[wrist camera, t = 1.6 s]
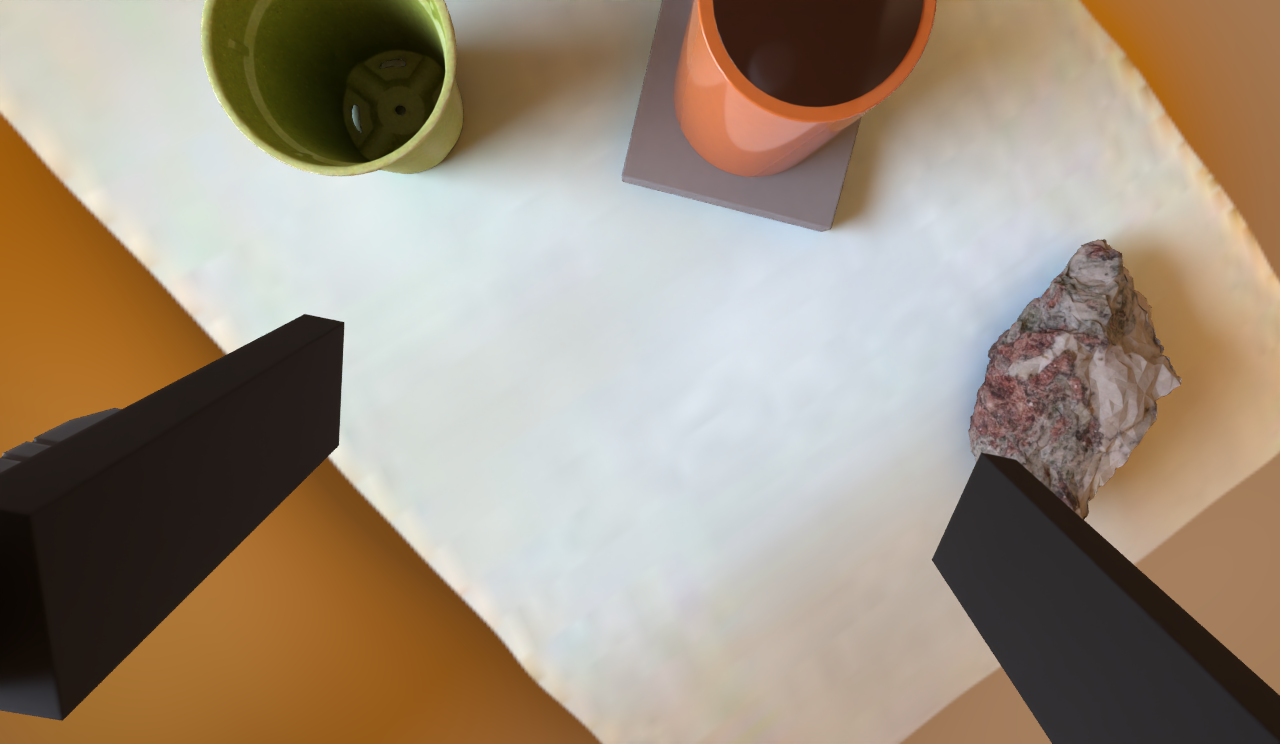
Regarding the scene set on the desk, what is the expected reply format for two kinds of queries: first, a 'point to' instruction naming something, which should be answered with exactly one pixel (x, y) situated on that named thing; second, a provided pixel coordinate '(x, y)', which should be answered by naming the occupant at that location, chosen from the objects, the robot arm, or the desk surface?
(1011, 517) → the robot arm
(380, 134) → the plant pot
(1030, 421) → the mineral rock
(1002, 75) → the desk surface
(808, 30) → the cup
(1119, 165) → the desk surface
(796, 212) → the coffee maker
